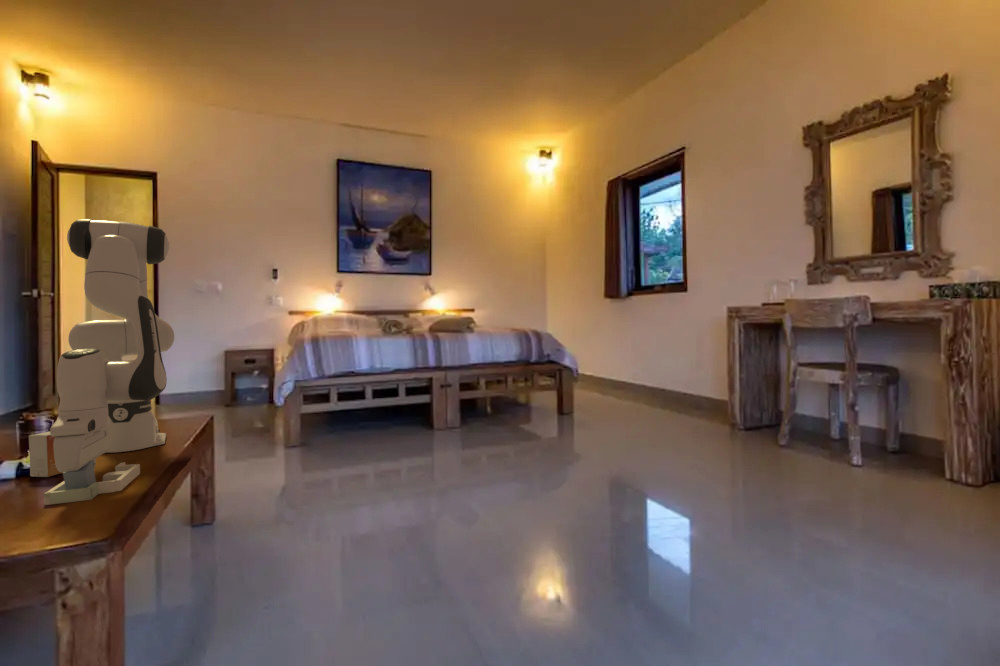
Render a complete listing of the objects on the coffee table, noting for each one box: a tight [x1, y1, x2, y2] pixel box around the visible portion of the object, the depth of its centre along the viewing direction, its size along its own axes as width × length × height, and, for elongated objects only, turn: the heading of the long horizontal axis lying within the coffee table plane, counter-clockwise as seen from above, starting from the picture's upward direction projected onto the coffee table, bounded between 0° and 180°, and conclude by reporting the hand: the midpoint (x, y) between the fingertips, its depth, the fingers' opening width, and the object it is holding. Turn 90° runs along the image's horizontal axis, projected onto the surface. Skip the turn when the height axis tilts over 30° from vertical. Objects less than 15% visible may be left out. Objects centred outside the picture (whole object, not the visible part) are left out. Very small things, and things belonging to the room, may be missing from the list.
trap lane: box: [43, 461, 141, 506], centre depth 119 cm, size 22×12×2 cm, turn 20°
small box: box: [28, 430, 63, 478], centre depth 130 cm, size 8×6×10 cm
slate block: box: [62, 461, 97, 490], centre depth 113 cm, size 4×4×6 cm
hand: (87, 480), depth 117 cm, fingers closed
